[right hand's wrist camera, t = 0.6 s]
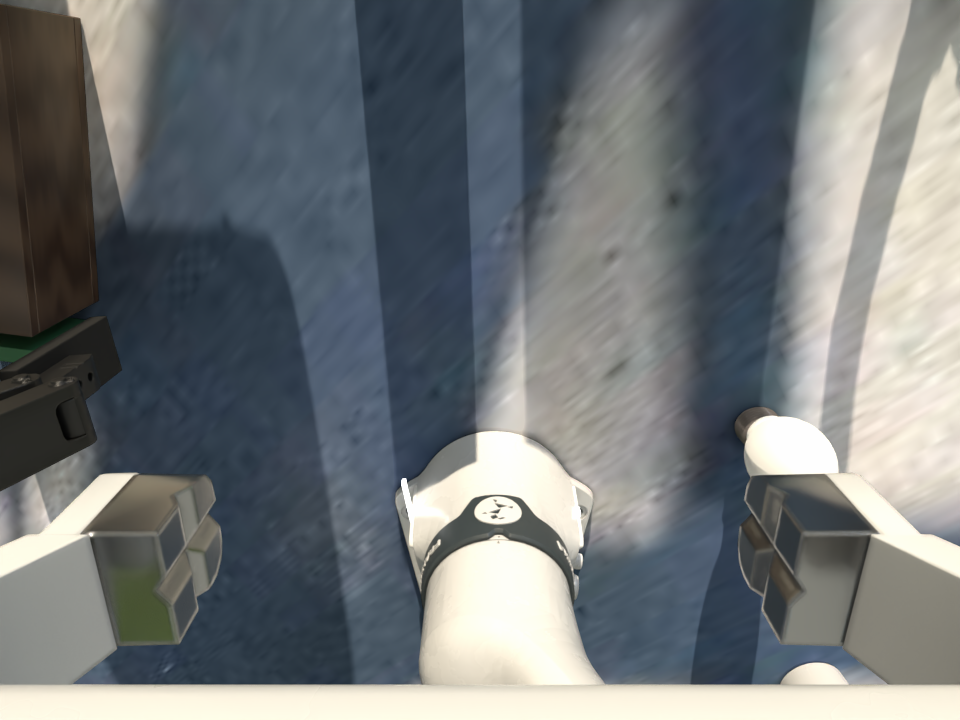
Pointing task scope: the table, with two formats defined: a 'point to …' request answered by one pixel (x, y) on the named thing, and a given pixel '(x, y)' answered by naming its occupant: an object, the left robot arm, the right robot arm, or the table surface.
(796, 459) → the light bulb
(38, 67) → the brown wooden box
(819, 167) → the table surface
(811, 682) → the coffee cup
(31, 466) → the left robot arm
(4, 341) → the drawer
